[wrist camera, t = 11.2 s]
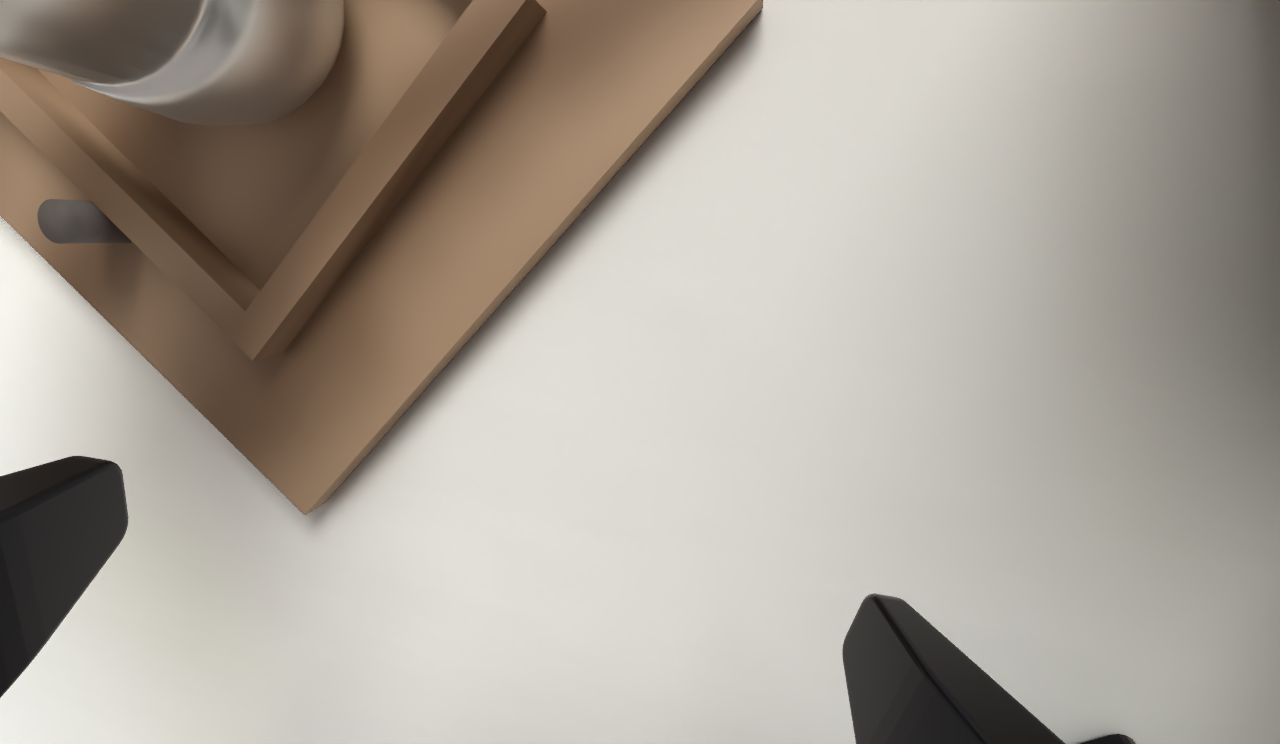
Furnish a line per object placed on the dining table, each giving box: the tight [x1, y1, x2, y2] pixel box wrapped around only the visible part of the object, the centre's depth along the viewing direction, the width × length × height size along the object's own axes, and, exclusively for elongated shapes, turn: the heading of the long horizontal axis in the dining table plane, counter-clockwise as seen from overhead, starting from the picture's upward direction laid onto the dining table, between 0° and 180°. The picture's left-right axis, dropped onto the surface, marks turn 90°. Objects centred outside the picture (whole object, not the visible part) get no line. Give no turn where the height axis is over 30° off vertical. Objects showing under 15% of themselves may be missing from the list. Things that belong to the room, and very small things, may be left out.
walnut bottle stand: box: [0, 0, 763, 515], centre depth 17 cm, size 20×20×3 cm
